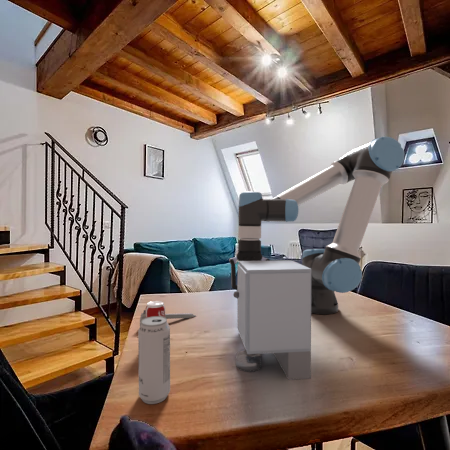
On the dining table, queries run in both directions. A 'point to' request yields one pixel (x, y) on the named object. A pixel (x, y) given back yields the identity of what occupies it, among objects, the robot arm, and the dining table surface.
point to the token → (248, 361)
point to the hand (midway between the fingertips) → (248, 309)
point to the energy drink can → (154, 359)
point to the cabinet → (276, 312)
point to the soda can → (155, 309)
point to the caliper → (169, 316)
